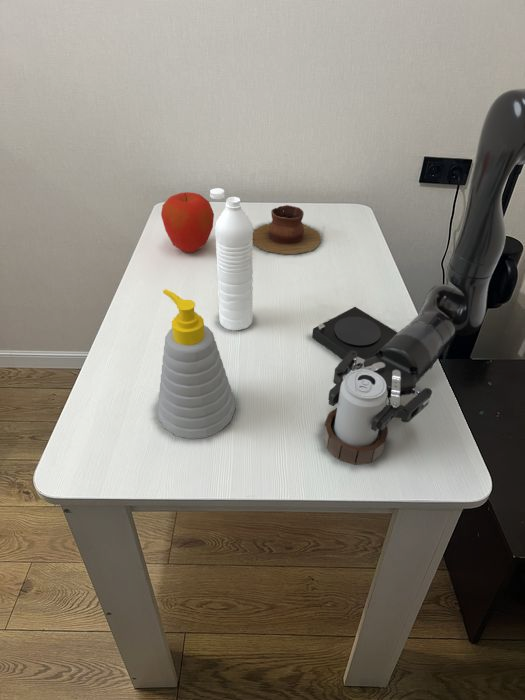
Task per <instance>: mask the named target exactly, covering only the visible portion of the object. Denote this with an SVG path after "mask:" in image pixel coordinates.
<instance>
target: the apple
mask: <svg viewBox="0 0 525 700" xmlns="http://www.w3.org/2000/svg"><path fill="white" fill-rule="evenodd" d="M160 216H161V220H162V223H163V227H164V230H165V232H166V235H167V236H168V238H169V240H170V242H171V244H172V246H173V247H175V248H176V249H178V250H180V251H181V252H182V253H185V254H189V253H195V252H197V251H198V250H200V249H201V248H202V247H204V246H205V245H206V244H207V243H208V241H209V239H210V236H211V233H212V232H213V231H212V230H213V228H214V219H215V214H214V211H213V208H212V206H211V203H210V201H209V200H207V198H205V197H204V196H203V195H201V194H199V193H196V192H189V191H185V192H180V193H176V194H173V195H171V196H169V197H168V198H167V199H166V200H165V202H164V203H163V204H162V207H161V212H160Z"/></svg>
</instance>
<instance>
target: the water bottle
mask: <svg viewBox="0 0 525 700" xmlns="http://www.w3.org/2000/svg"><path fill="white" fill-rule="evenodd" d="M225 195H226V193H225V190H224V189H223V188H219V187H216V188H212V189H210V190H209V197H210V198H211V199H214V200H222V199H224V198H225V197H226V196H225ZM225 201H226V202H225V203H224V204H225V205H224V206H225V208H224V209H223V211H222V212H221V214H220V215H219V217H218V218H217V220H216V222H215V226H214V235H215V252H216V254H215V255H216V275H217V293H218V295H217V296H218V297H217V298H218V318H219V319H218V320H219V324H220V325H221V326H222V327H224V328H225V329H226V330H230V331H231V330H232V331H242V330H246V329H247V328H249V327H250V325H252V324H253V291H254V290H253V288H254V287H253V283H254V279H253V278H254V277H253V273H254V272H253V271H254V270H253V259H254V257H253V255H254V253H253V251H254V250H253V249H254V248H253V245H254V244H253V240H252V239H253V232H254V228H253V223H252V221H251V219H250V218H249V216H248V215H247V213H246V212H245V211H244V209H243V208H242V205H243V204H242V202H241V198H240V197H238V196H230V197H227V198H226V200H225Z"/></svg>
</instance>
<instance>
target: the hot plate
mask: <svg viewBox="0 0 525 700" xmlns="http://www.w3.org/2000/svg"><path fill="white" fill-rule="evenodd" d="M398 332H399V331H396V330H394V329H393V328H391V327H390V326H388V325H387V324H384V323H383V322H382V321H380V320H378V319H376V318H375V317H373V316H371V314H368V313H366V312H365V311H363V310H362V309H360V308H358V307H357V306H353V307H352V308H350V309H347V310H346V311H344V312H341V313H340V314H338V315H336V316H334V317H332V318H331V319H328V320H327V321H325V322H323V323H320V324H318V325H317V326H315V327H313V328H312V333H311V338H312V339H313V340H314V341H316V342H317V343H318V344H320V345H322V346H323V347H324V348H326V349H327V350H329V351H330V352H331V353H332V354H334V355H336V356H337V357H338V358H340V359H341V360H343V359H344V358H345V357H346V356H347V354H348V353H349V352H350V351H356V352H357V357H360V358H362V359H364V360H366V359H368V358H372V357H374V356H375V354H376V353H377V352H378V351H379V350H380V349H381V348H382V347H383V346H384V345H385V344H386V343H387V342H388V341H389V340H391V339H392V338H393V337H394V336H395V335H396V334H397V333H398ZM360 368H362V367H358V368H357V369H360ZM357 369H356V370H357Z"/></svg>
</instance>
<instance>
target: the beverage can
mask: <svg viewBox="0 0 525 700" xmlns="http://www.w3.org/2000/svg"><path fill="white" fill-rule="evenodd" d="M387 395H388V392H387V388H386V382H385V380H384V379H383V378H382V377H381V376H380V375H379V374H377V373H375V372H373V371H370V370H365V369H359V370H357V369H355V370H354V371H352V370H351V371H350V373H348V374H347V375H346V377H345V379H344V380H343V382H342V383H341V388H340V394H339V400H338V403H337V406H336V408H337V413H336V419H335V425H334V427H333V434H334V436H336V437H337V438H338V439H339V440H340V441H341V442H343V443H344V444H348V445H351V446H354V447H365V446H372V445H373V444H374V443H376V442H377V440H378V438H377V435H378V431H379V429H378V430H377V431H376V432H375V431H374V430H372V429H371V426H372V422H373V420H374V418H375V417H376V416H377V415H378V414H379V412H380V411H382V410H383V408H384V407H385V406H386V402H387V400H388V397H387Z"/></svg>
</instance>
